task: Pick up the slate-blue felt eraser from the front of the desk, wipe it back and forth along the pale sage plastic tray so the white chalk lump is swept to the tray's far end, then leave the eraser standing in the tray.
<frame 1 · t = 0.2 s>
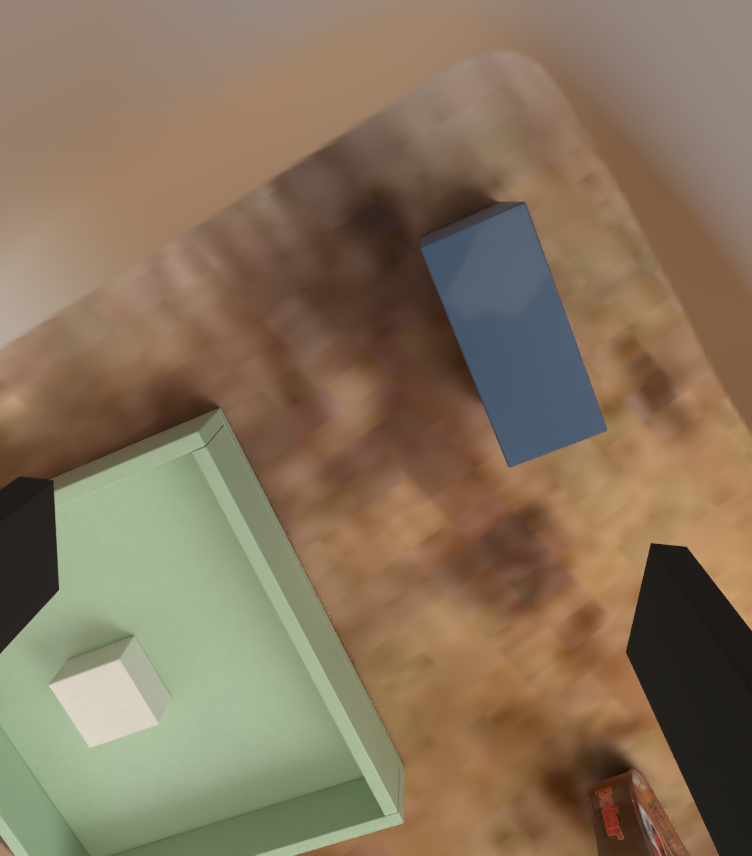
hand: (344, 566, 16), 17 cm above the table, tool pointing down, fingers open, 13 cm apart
chalk: (119, 678, 36), point 1 cm above the table, touching tray
tray: (149, 662, 37), on the table
eraser: (493, 309, 30), on the table
tin: (648, 841, 39), on the table
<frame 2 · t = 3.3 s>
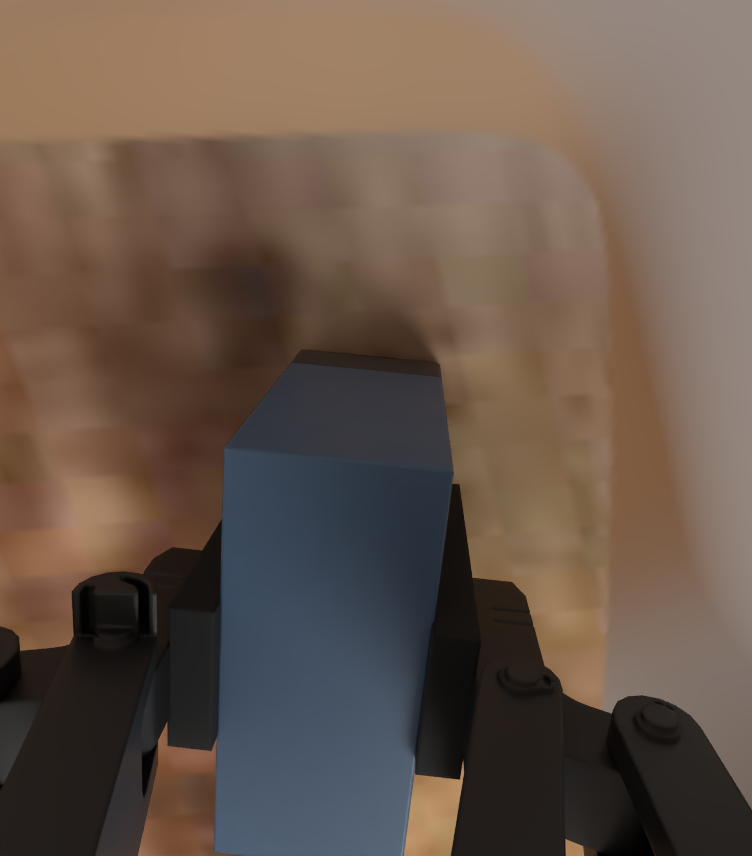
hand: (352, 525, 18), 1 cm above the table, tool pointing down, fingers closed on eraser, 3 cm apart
eraser: (357, 502, 19), on the table, touching gripper
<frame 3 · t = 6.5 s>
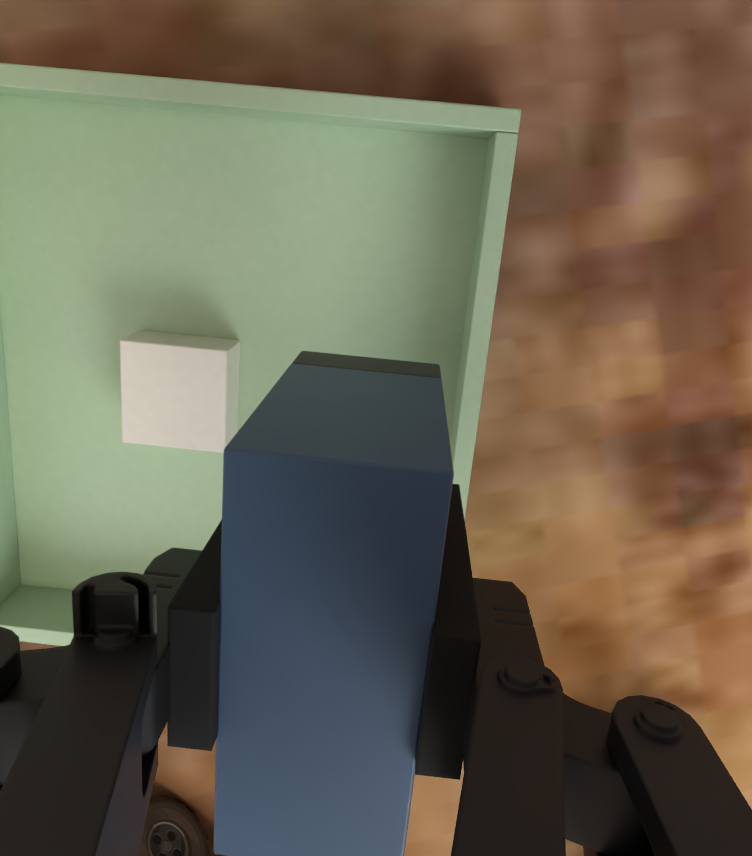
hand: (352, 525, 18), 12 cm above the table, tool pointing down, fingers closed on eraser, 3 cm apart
chalk: (189, 384, 29), point 1 cm above the table, touching tray
tray: (230, 384, 29), on the table
eraser: (357, 503, 19), point 10 cm above the table, touching gripper
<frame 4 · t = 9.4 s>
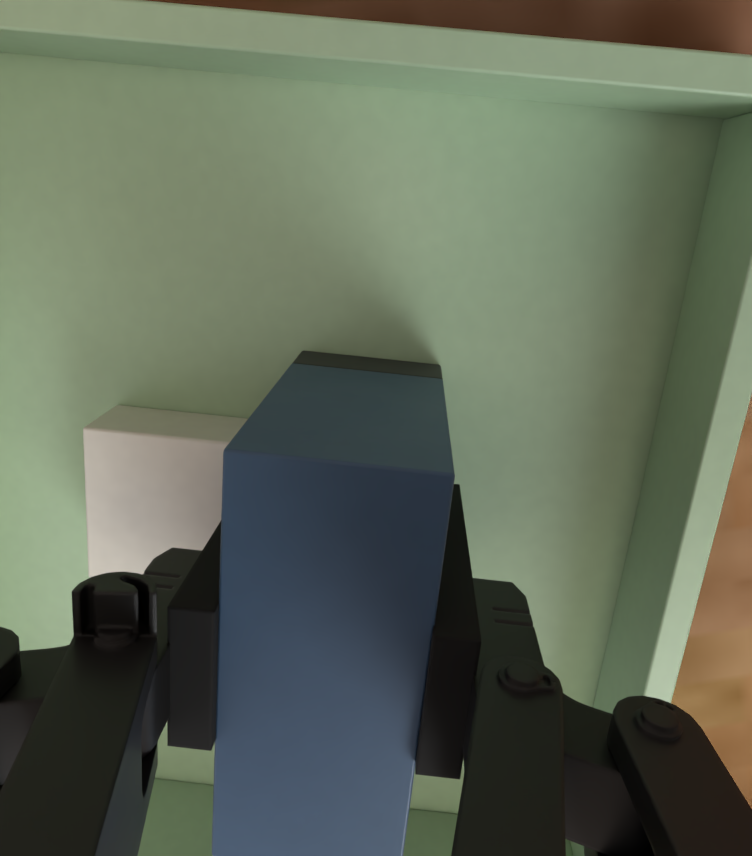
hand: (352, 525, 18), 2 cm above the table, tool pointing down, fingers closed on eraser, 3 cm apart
chalk: (191, 483, 19), point 1 cm above the table, touching gripper, tray
tray: (295, 485, 20), on the table
eraser: (357, 504, 19), point 1 cm above the table, touching gripper, tray
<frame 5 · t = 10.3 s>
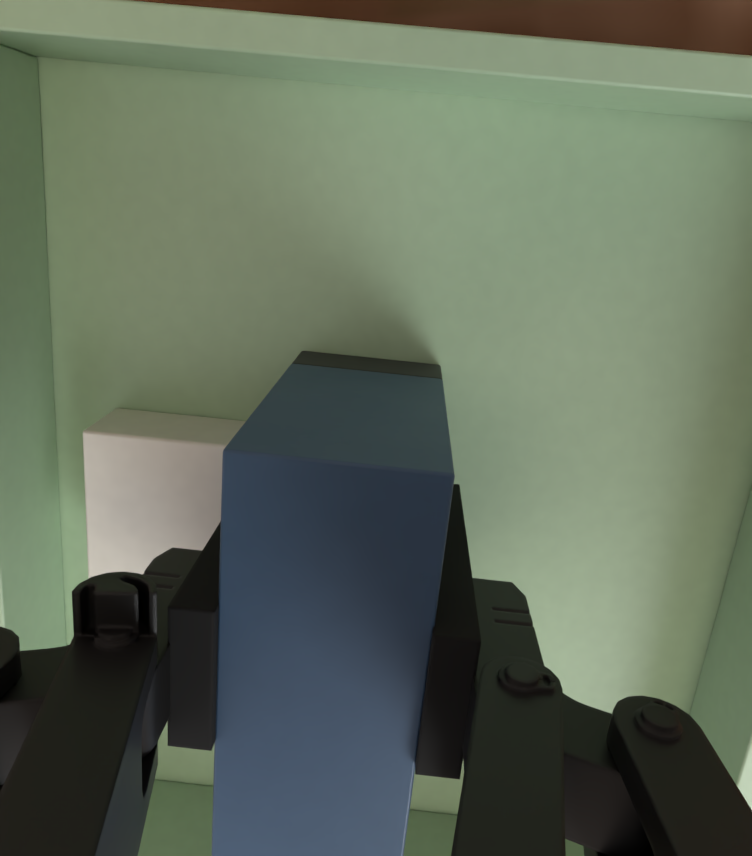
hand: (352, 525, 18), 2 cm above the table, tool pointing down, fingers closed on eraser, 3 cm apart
chalk: (191, 486, 19), point 1 cm above the table, touching gripper
tray: (393, 496, 20), on the table
eraser: (357, 504, 19), point 1 cm above the table, touching gripper
when the fingers open (2 cm above the table, at t = 15.4 s): eraser stays where it is, resting on tray.
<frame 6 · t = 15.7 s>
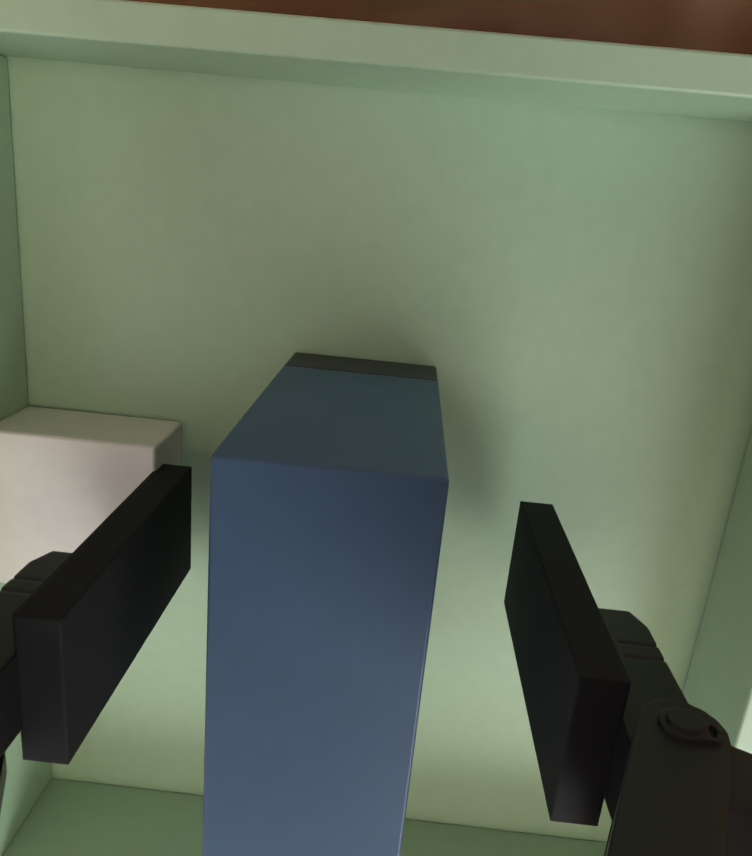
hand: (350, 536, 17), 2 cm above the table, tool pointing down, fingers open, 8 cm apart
chalk: (107, 485, 19), point 1 cm above the table, touching gripper, tray
tray: (373, 501, 19), on the table
eraser: (352, 508, 19), point 1 cm above the table, touching tray
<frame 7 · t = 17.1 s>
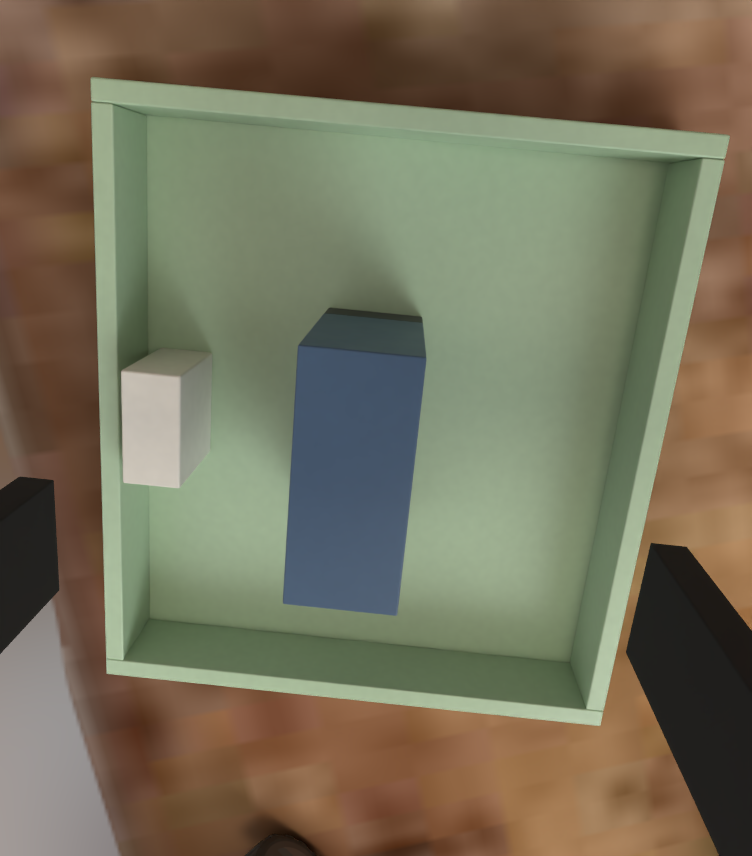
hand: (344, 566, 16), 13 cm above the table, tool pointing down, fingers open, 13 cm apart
chalk: (197, 417, 26), point 3 cm above the table, tilted 90°, touching tray
tray: (380, 412, 28), on the table
eraser: (366, 415, 28), point 1 cm above the table, touching tray
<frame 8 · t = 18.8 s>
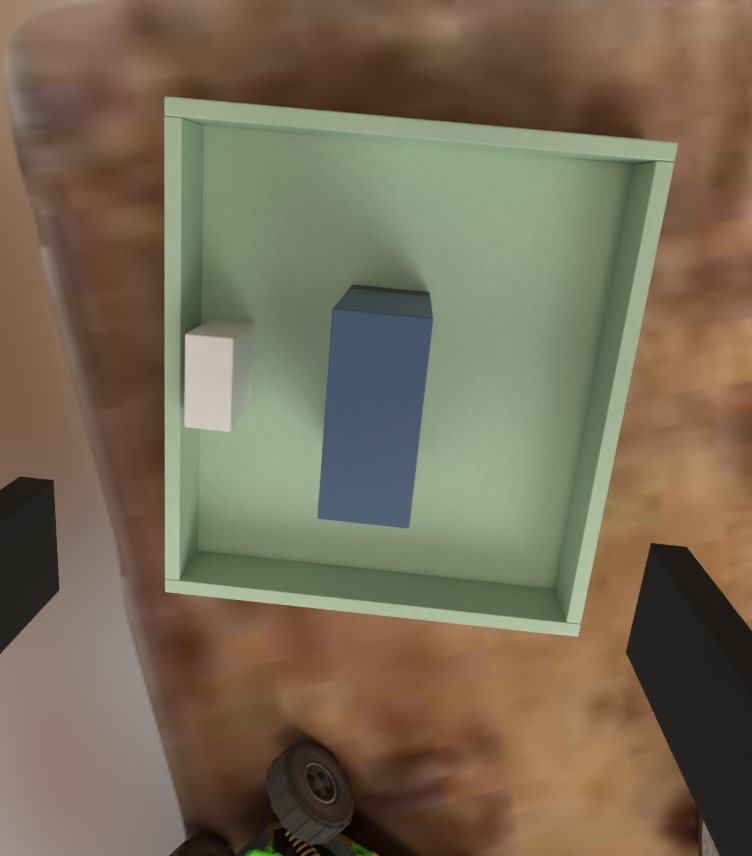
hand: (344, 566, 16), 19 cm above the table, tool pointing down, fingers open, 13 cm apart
chalk: (243, 375, 31), point 3 cm above the table, tilted 90°, touching tray
tray: (394, 373, 34), on the table
eraser: (382, 375, 33), point 1 cm above the table, touching tray
tin: (722, 763, 39), on the table
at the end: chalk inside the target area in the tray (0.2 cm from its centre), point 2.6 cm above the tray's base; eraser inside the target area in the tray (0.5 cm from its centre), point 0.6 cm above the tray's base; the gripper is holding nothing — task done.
